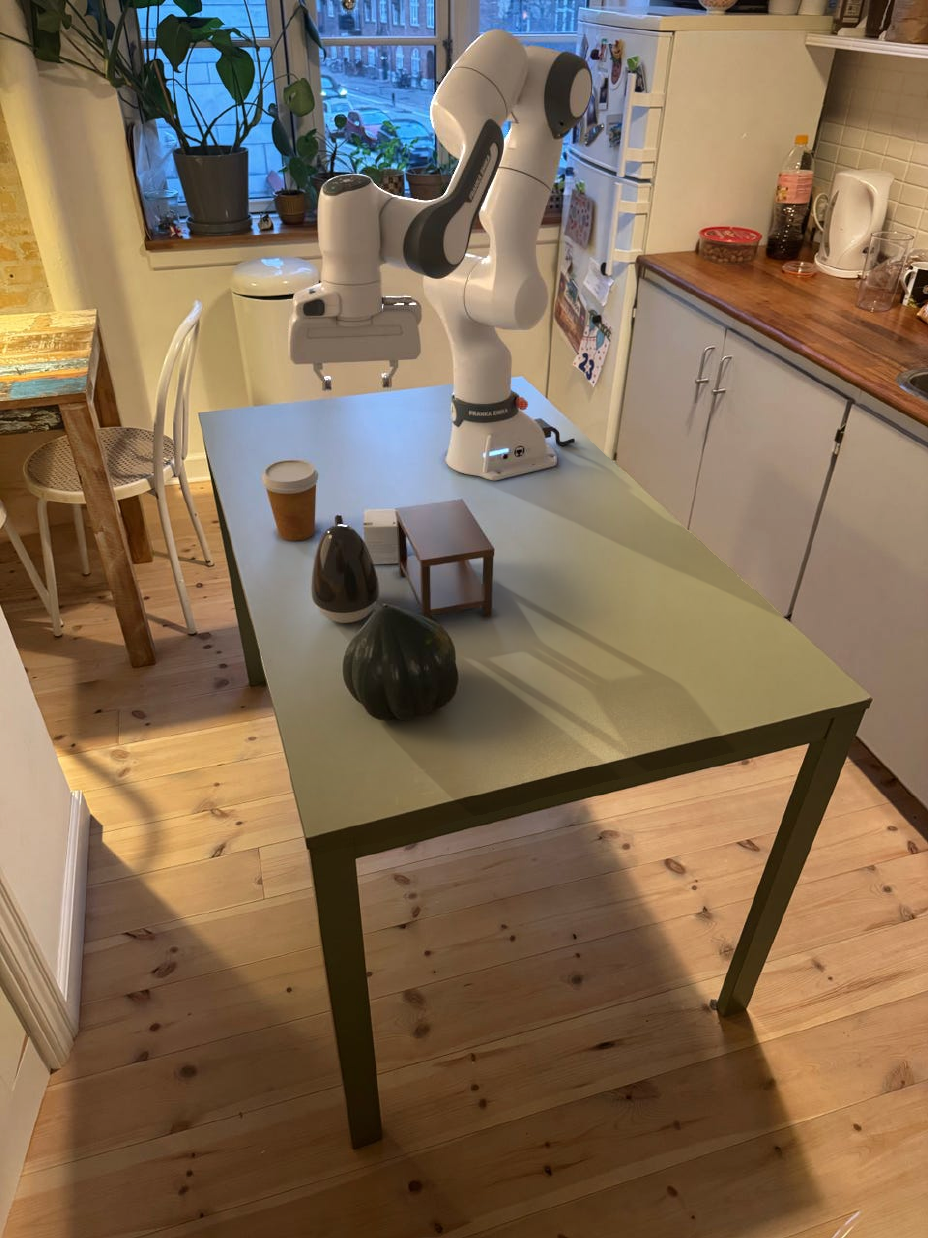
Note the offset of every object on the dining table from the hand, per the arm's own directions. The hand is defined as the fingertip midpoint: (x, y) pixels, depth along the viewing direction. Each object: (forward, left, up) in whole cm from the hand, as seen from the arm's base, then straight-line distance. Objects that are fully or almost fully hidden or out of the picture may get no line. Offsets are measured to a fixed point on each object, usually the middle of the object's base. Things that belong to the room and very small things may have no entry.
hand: (356, 388), depth 139 cm
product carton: (-1, +7, -27) cm, 28 cm away
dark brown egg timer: (+8, +22, -27) cm, 36 cm away
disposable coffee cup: (+12, -5, -27) cm, 30 cm away
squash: (+5, +44, -27) cm, 52 cm away
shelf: (-8, +21, -27) cm, 35 cm away
